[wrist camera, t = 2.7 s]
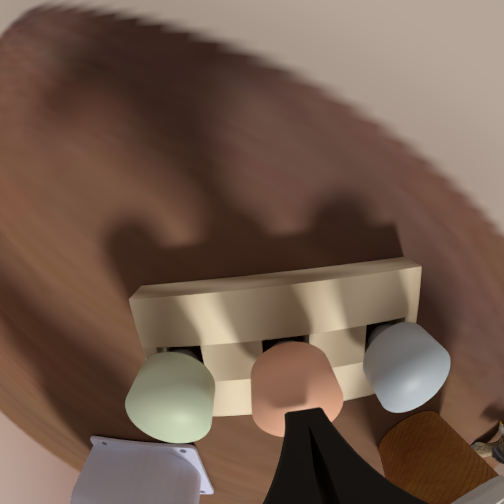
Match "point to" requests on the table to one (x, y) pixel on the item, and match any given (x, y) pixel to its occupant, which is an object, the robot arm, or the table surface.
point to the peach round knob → (292, 384)
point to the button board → (277, 319)
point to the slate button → (404, 365)
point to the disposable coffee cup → (437, 463)
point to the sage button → (172, 397)
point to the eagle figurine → (492, 447)
